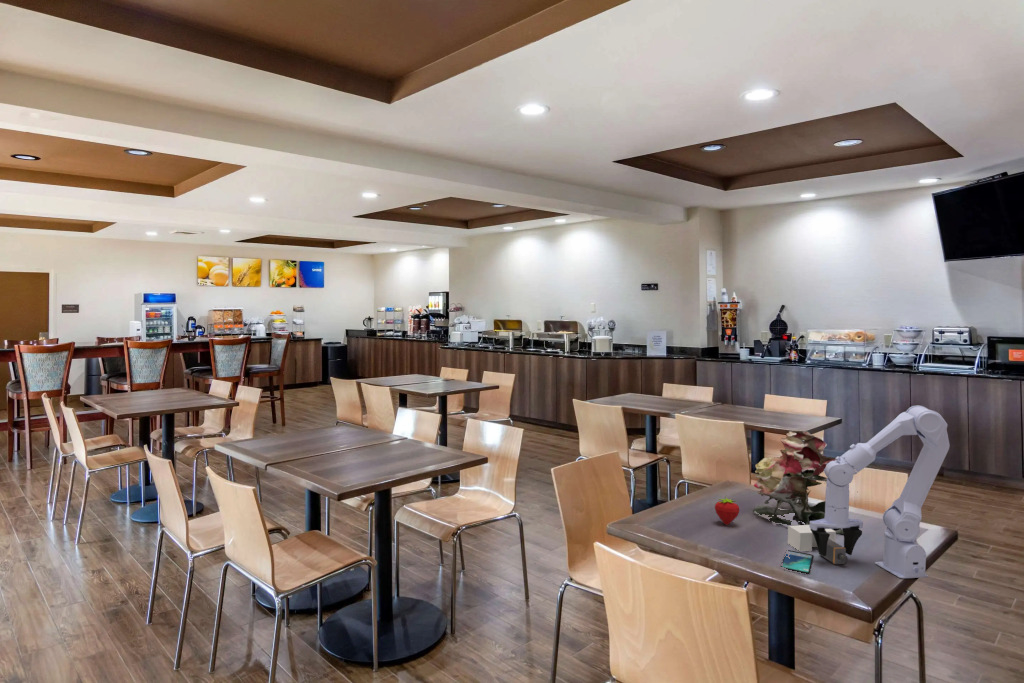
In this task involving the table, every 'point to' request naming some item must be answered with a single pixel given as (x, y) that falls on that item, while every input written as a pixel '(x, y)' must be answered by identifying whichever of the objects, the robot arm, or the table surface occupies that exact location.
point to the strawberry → (727, 510)
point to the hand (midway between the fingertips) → (835, 554)
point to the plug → (835, 553)
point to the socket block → (805, 537)
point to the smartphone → (798, 562)
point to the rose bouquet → (793, 478)
